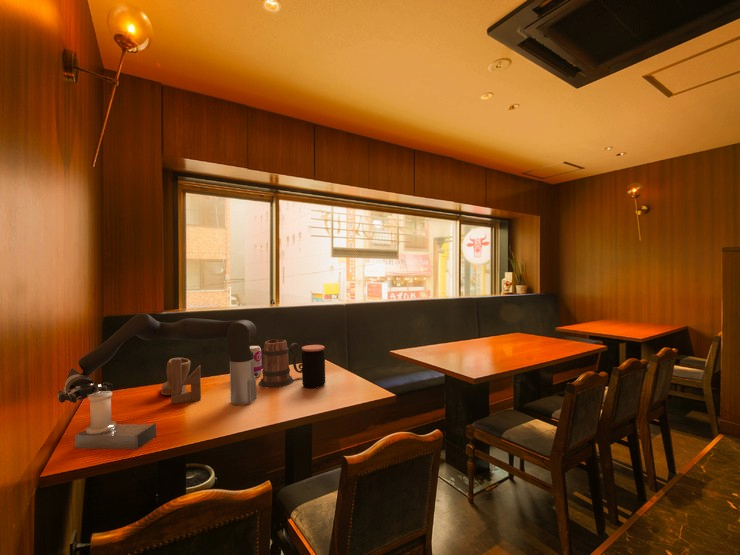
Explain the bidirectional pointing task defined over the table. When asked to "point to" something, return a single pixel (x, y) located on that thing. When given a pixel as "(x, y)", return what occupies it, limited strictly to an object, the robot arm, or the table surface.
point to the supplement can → (257, 360)
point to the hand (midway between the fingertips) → (91, 396)
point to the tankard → (278, 364)
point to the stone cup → (168, 385)
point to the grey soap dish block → (116, 436)
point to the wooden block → (177, 384)
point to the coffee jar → (313, 366)
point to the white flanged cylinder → (100, 409)
